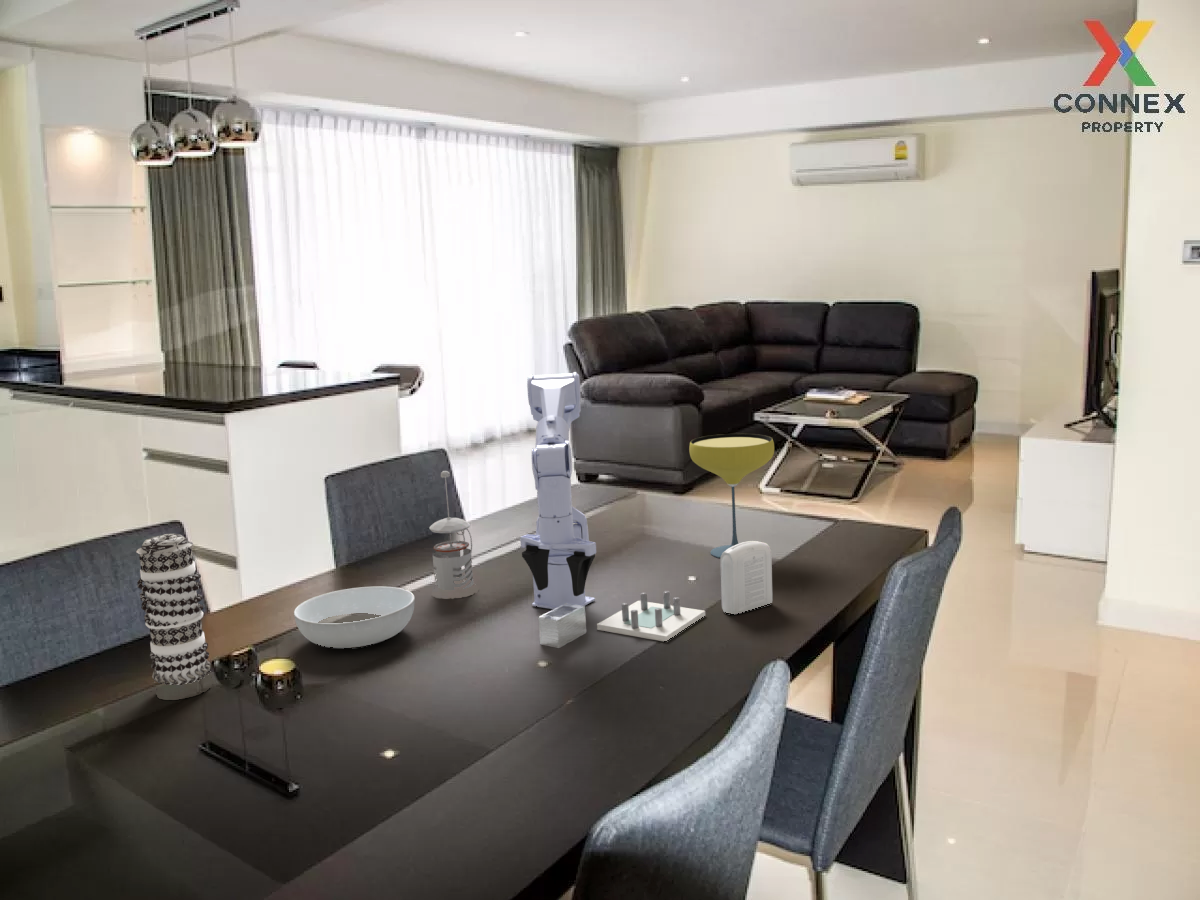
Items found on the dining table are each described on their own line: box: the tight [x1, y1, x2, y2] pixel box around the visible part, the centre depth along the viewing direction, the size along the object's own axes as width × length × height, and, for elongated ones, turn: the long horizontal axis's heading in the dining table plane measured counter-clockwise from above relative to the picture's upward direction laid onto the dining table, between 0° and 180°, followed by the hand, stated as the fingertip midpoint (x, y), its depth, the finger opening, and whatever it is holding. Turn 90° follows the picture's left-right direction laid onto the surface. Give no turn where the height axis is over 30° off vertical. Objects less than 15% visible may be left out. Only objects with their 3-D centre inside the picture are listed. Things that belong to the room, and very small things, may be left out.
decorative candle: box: [136, 533, 212, 686], centre depth 154 cm, size 9×9×25 cm
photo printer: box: [719, 540, 773, 615], centre depth 178 cm, size 10×4×12 cm, turn 123°
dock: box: [596, 590, 706, 642], centre depth 174 cm, size 14×14×4 cm
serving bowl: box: [293, 585, 416, 649], centre depth 174 cm, size 21×21×7 cm
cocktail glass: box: [688, 433, 775, 559], centre depth 213 cm, size 18×18×25 cm
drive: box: [537, 603, 587, 649], centre depth 169 cm, size 4×8×5 cm, turn 145°
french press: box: [429, 470, 475, 590], centre depth 198 cm, size 10×12×25 cm
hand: (560, 591), depth 168 cm, fingers open, 7 cm apart
